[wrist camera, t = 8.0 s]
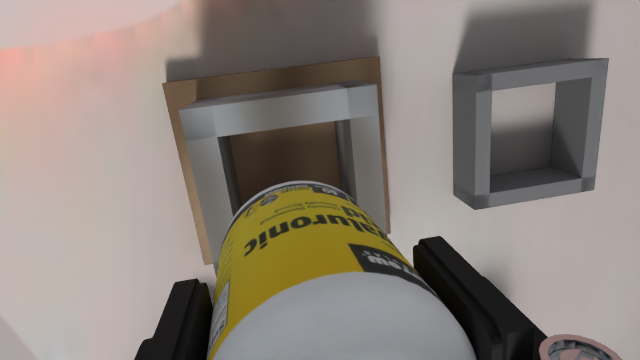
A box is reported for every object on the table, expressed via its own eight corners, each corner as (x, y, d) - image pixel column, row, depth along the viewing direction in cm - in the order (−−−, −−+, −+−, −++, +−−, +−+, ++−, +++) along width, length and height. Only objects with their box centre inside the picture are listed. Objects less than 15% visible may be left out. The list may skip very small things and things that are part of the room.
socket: (374, 56, 24) (408, 55, 19) (386, 227, 28) (417, 269, 22) (166, 82, 23) (134, 88, 17) (206, 257, 27) (191, 310, 21)
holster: (571, 58, 26) (608, 58, 23) (561, 177, 29) (594, 189, 26) (452, 74, 25) (476, 75, 23) (453, 195, 28) (474, 209, 25)
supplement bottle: (384, 184, 14) (680, 432, 4) (354, 316, 15) (534, 715, 6) (229, 165, 12) (194, 456, 3) (211, 311, 14) (152, 810, 5)
